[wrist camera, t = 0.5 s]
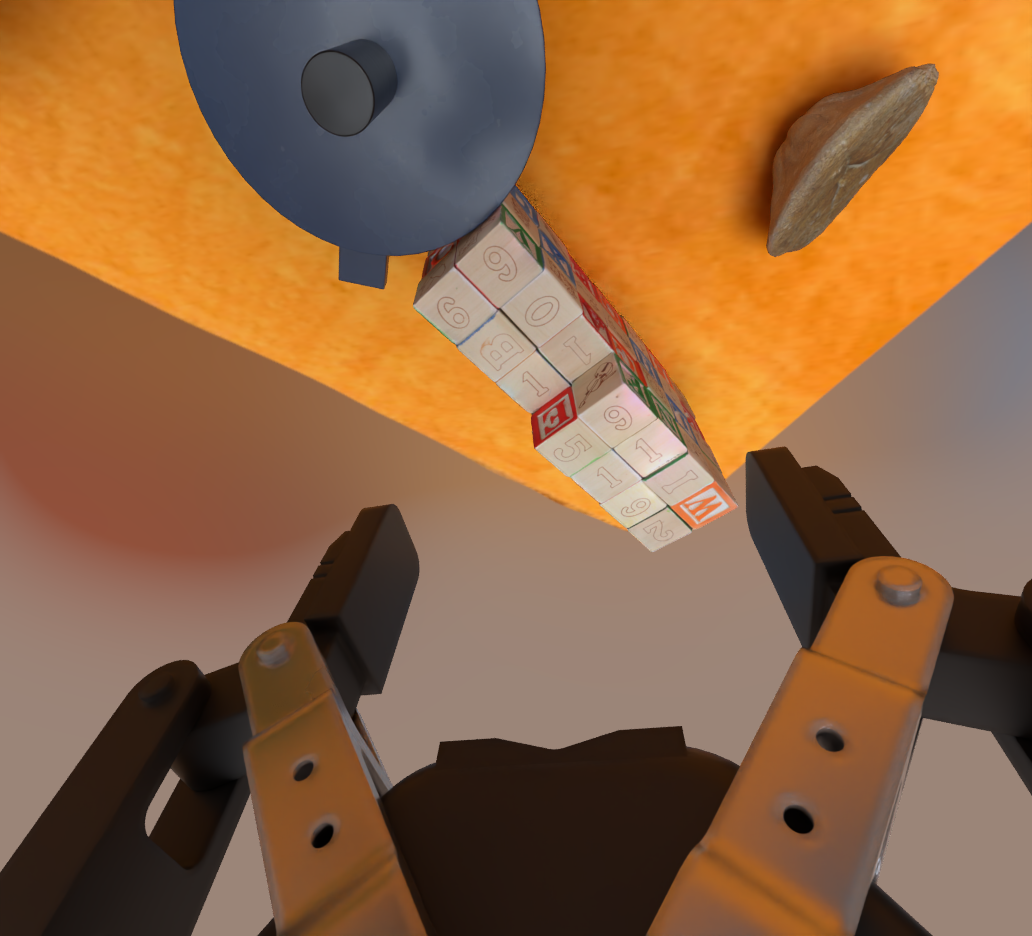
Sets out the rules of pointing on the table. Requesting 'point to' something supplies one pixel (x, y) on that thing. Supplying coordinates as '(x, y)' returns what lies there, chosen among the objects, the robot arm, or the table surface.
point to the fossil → (840, 152)
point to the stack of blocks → (574, 373)
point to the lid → (371, 109)
